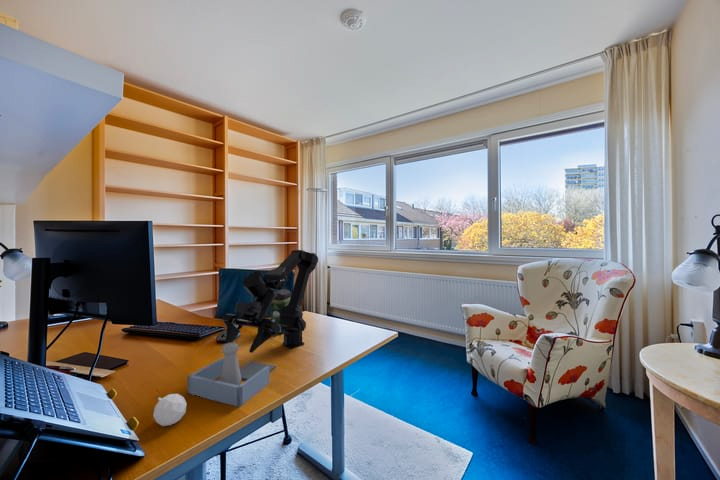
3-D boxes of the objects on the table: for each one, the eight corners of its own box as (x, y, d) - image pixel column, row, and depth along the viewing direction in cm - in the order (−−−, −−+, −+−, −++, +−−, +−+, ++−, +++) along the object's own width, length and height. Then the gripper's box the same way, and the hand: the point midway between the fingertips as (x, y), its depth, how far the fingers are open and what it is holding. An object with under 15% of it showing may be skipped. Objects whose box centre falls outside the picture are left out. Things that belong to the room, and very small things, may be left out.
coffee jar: (279, 326, 139) (279, 287, 138) (294, 328, 137) (293, 288, 136) (266, 333, 130) (266, 291, 129) (282, 335, 127) (282, 292, 127)
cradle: (222, 373, 94) (221, 357, 94) (269, 383, 88) (269, 366, 88) (187, 393, 82) (187, 376, 82) (239, 406, 76) (239, 388, 76)
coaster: (251, 362, 101) (251, 361, 101) (275, 367, 98) (275, 365, 98) (229, 376, 92) (229, 374, 92) (256, 382, 88) (256, 380, 88)
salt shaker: (217, 394, 82) (217, 348, 81) (221, 384, 87) (221, 341, 87) (240, 391, 83) (239, 346, 83) (242, 381, 89) (242, 339, 88)
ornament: (170, 434, 66) (146, 411, 64) (164, 430, 70) (142, 409, 69) (195, 407, 70) (174, 386, 69) (189, 406, 75) (168, 385, 74)
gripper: (226, 289, 95) (197, 333, 85) (275, 293, 89) (250, 342, 79) (243, 307, 103) (218, 350, 93) (289, 312, 97) (268, 358, 87)
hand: (237, 349), depth 88 cm, fingers open, 9 cm apart
